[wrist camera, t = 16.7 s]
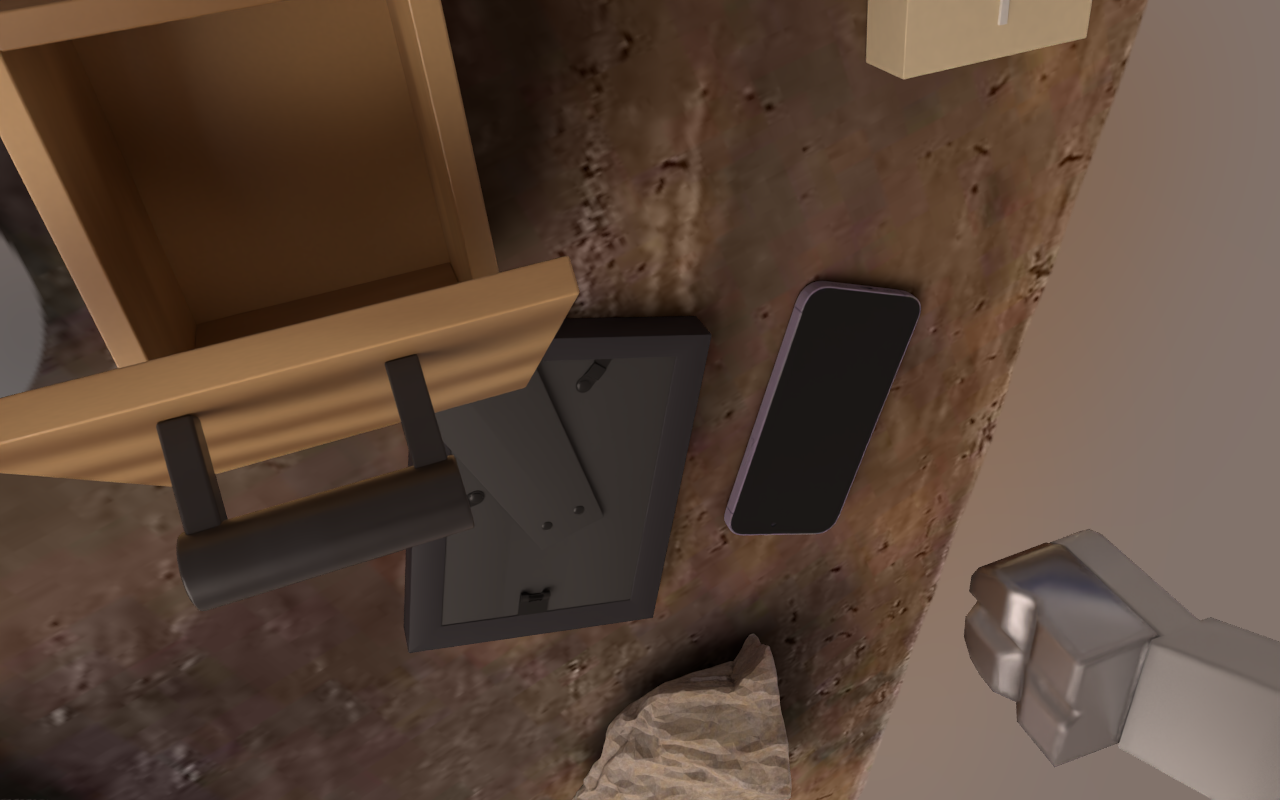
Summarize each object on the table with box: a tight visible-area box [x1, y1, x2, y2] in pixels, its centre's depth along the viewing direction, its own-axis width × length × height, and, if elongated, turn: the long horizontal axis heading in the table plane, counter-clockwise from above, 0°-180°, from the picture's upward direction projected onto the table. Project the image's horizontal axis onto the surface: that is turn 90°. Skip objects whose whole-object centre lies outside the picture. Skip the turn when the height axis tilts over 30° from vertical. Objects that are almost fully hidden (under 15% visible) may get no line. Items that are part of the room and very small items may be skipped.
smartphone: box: [724, 281, 921, 535], centre depth 51 cm, size 7×1×15 cm
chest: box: [0, 0, 499, 368], centre depth 31 cm, size 14×12×9 cm
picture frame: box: [404, 316, 711, 653], centre depth 46 cm, size 13×2×18 cm
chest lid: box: [0, 256, 580, 611], centre depth 24 cm, size 15×12×5 cm
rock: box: [573, 633, 791, 800], centre depth 57 cm, size 16×13×10 cm
